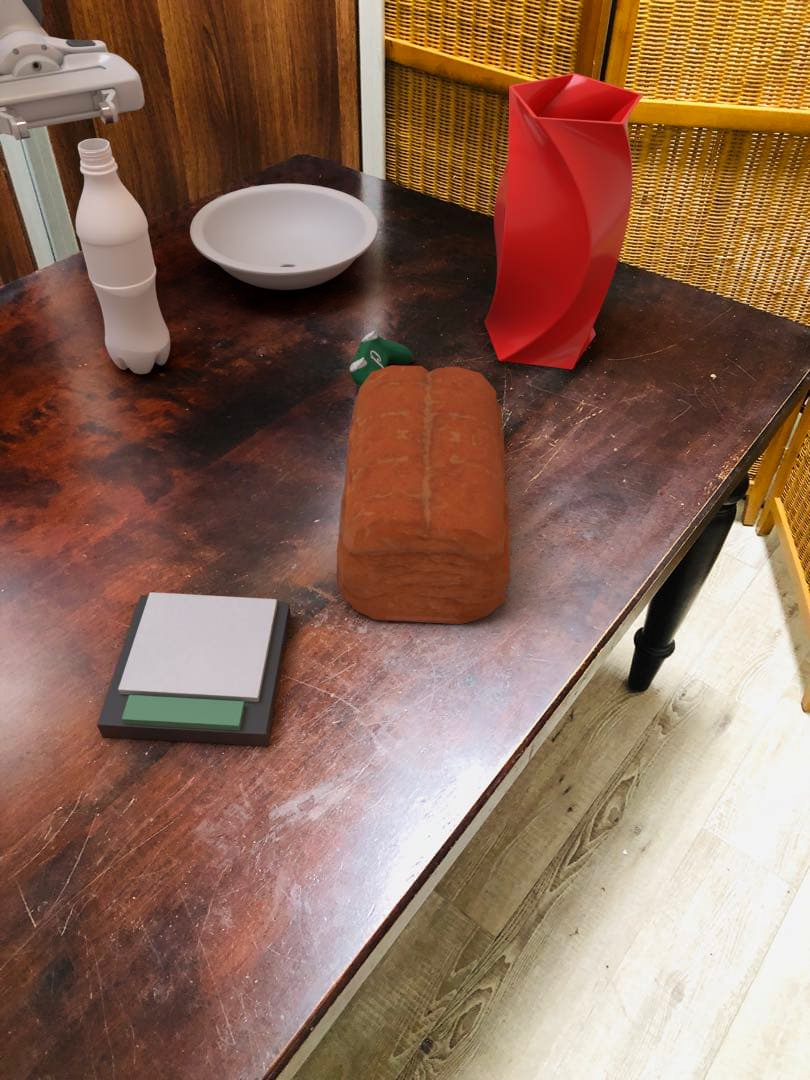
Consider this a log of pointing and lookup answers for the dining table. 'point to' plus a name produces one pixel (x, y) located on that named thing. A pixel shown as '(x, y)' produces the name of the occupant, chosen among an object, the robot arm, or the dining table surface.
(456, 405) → the bread
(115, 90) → the robot arm
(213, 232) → the soup bowl
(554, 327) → the vase
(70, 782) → the dining table surface
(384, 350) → the gaming controller
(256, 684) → the kitchen scale
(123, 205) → the water bottle
